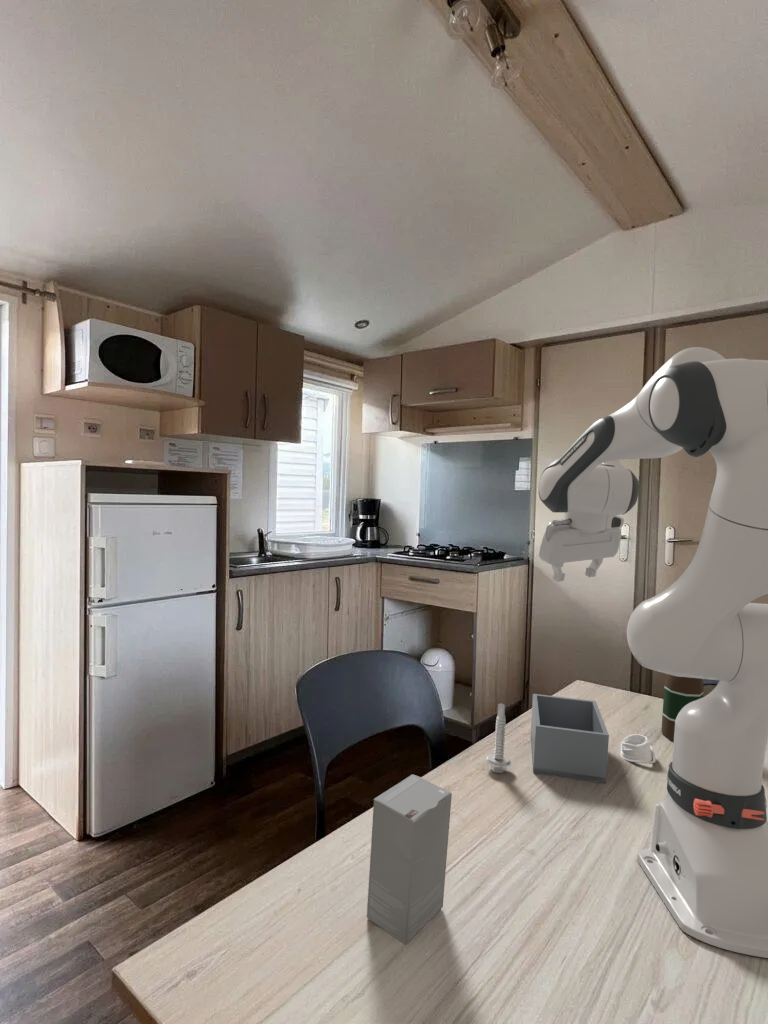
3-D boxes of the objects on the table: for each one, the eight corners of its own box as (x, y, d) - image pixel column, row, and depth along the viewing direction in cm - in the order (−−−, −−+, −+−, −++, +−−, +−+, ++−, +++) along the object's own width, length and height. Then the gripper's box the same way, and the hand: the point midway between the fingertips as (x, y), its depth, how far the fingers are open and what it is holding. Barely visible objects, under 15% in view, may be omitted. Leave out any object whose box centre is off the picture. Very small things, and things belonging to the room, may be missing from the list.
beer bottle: (653, 732, 133) (660, 627, 132) (677, 728, 136) (684, 625, 135) (683, 747, 126) (691, 636, 125) (708, 742, 129) (716, 633, 128)
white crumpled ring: (659, 774, 116) (664, 751, 115) (624, 767, 117) (628, 744, 116) (648, 753, 124) (653, 731, 123) (615, 746, 125) (619, 725, 124)
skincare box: (404, 885, 79) (409, 769, 78) (449, 912, 74) (455, 789, 73) (362, 920, 72) (367, 793, 71) (408, 951, 68) (415, 817, 67)
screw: (510, 778, 109) (484, 774, 110) (511, 766, 114) (485, 762, 115) (514, 709, 108) (487, 705, 110) (515, 700, 113) (489, 696, 114)
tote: (605, 783, 109) (608, 735, 108) (533, 772, 112) (535, 726, 111) (593, 742, 126) (595, 701, 126) (530, 734, 129) (532, 693, 129)
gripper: (559, 524, 119) (548, 588, 122) (629, 519, 128) (618, 578, 132) (537, 516, 124) (528, 577, 128) (607, 511, 134) (596, 569, 137)
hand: (574, 578), depth 130 cm, fingers open, 8 cm apart
